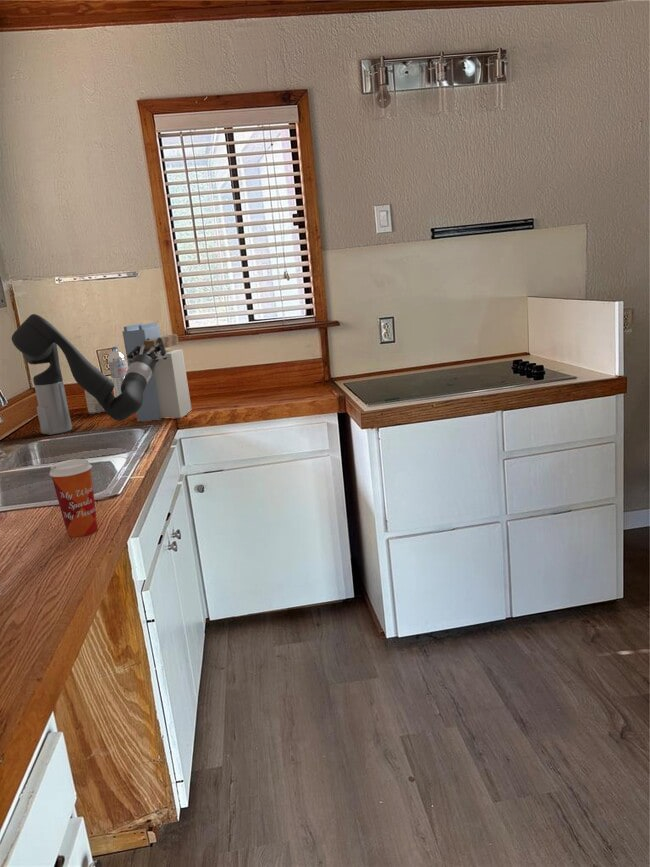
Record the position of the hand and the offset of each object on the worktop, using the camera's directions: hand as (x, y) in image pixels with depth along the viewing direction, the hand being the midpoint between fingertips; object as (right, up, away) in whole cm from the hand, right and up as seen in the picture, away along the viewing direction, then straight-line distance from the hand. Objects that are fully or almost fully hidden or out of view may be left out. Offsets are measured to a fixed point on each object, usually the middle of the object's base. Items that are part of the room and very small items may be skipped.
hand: (154, 340), depth 217 cm
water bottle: (-21, -22, +36) cm, 47 cm away
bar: (+1, -2, +6) cm, 6 cm away
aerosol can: (-33, -23, +37) cm, 54 cm away
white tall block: (+4, -25, +15) cm, 29 cm away
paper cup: (+10, -51, -92) cm, 106 cm away
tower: (-4, -26, +15) cm, 30 cm away
